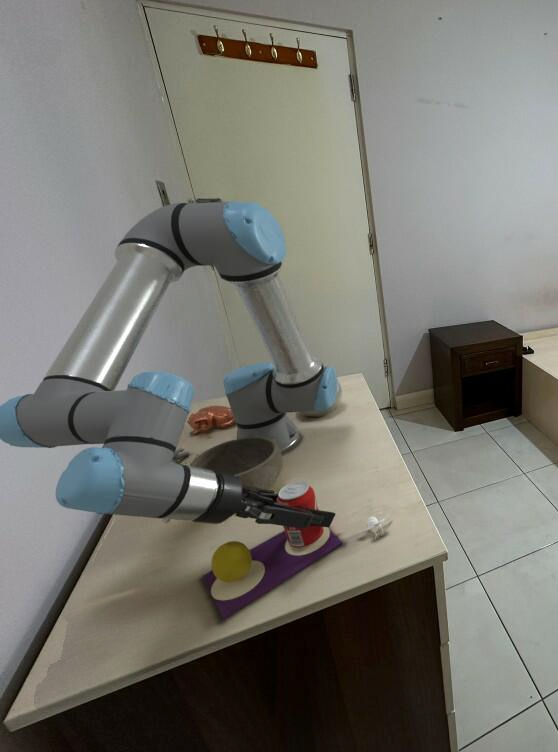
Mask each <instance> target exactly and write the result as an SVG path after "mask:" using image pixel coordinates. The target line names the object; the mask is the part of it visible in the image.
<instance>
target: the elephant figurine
mask: <svg viewBox="0 0 558 752" xmlns="http://www.w3.org/2000/svg"><path fill="white" fill-rule="evenodd" d="M190 453H191V451H190V450H186V451H185V447H184V446H182V447H179V448H176V450H175V453H174V456H173V459H172V462H173V463H176V464H178V462H176V461H177V460H178V459H180V458H182V457H187V456H189V455H190ZM181 464H182V465H184V464H183V463H181Z"/></svg>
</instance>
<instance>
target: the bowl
mask: <svg viewBox="0 0 558 752" xmlns="http://www.w3.org/2000/svg"><path fill="white" fill-rule="evenodd" d="M283 465H284V461H283V454H281V451H280V449H279V447H278V445H277V444H276V442H275V441H273V440H272V439H270V438H266V437H246V438H240V439H236V438H235V439H232V440H228V441H225V442H221V443H220V444H217V445H214V446H212V447H211V448H209V449H207V450H204V452H202V453H201V454H199V455H198V456H196V457H195V458H194V460H193V461H191V463H190V464H189V466H193V467H198V468H203V469H208V470H211V471H213V472H220V473H225V474H230V475H235V476H237V477H239V478H240V480H241V482H242V485H243V486H248V487H254V488H260V489H266V490H271V488H272V487H273V486H274V485H275V483H276V482H277V481H278V479H279V477H280V476H281V473H282V472H283V471H282V470H283Z"/></svg>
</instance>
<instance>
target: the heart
mask: <svg viewBox="0 0 558 752" xmlns="http://www.w3.org/2000/svg"><path fill="white" fill-rule="evenodd" d="M186 423H187V424H188V425H189V426H190V427H191V429H193V432H192V436H194V435H195V434H197V433H198V432H201V431H202V432H203V431H208V430H211V429H214V428H228V427H231V426H233V425H234V424H236V422H235V419H234V416H233V413H232V410H231V407H230V406H229V407H228V406H224V405H209V406H205V407H201V408H200V409H199V410H197V412H195V413H191V414H190V416H188V420H186Z"/></svg>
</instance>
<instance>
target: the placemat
mask: <svg viewBox="0 0 558 752" xmlns="http://www.w3.org/2000/svg"><path fill="white" fill-rule="evenodd" d="M323 528H324V531H323V534H322V536H321V537H320V538H319V540H318V541H317V542H316V543H315V544H314V545H312V546H310V547H307V548H302V549H301V548H295V547H292V546H290V545H289V543H288V540H287V537H286V533H285V530H283V531H282V532H281V531H280V532H279V533H278V534H276V535H274V536H272V537H270V538H269V539H267V540H265V541H264V542H261V543H260V544H258V545H256V546H254V547H252V548H250V549H249V551H250V553H251V557H252V563H251V567H250V569H249V571H248V572H247V573H246V575H245V576H244V577H242V578H241V579H239V580H237V581H234V582H223V581H220V580H219V579H218V578H217V577H216V576H215V575H214V573H213V570H212V569H211V570H210V571H208V572H207V573H205V574H203V575H202V578H203V580H204V582H205V584H206V586H207V588H208V590H209V593H210V595H211V596H212V598H213V601H214V603H215V606H216V607H217V610H218V611H219V613H220V615H221V617H222V619H223V621H224V620H225V619H227V618H229V617H230V616H232V615H234V614H235V613H237V612H238V611H240V610H241V609H243V608H245V607H247V606H248V605H250V604H252V602H255V601H256V600H258V599H259V598H261V597H262V596H264V595H265V594H267V593H268V592H271V591H272V590H273V589H275V588H276V587H277V586H279V585H281V584H283V583H284V582H286V581H288V580H289V579H290V578H292V577H294V576H295V575H297V574H299V573H300V572H302V571H303V570H305V569H306V568H308V567H309V566H311V565H313V564H314V563H316V562H318V561H319V560H320V559H323V558H324V557H325V556H327V555H329V554H330V553H332V552H333V551H335V550H336V549H338V548H339V547H341V546H342V545H343V542H342V541H341V540H340V538H339V537H338V536H336V534H335V533H334V532H333V531H332V530H331V529H330V527H329V528H328V527H323Z"/></svg>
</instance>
